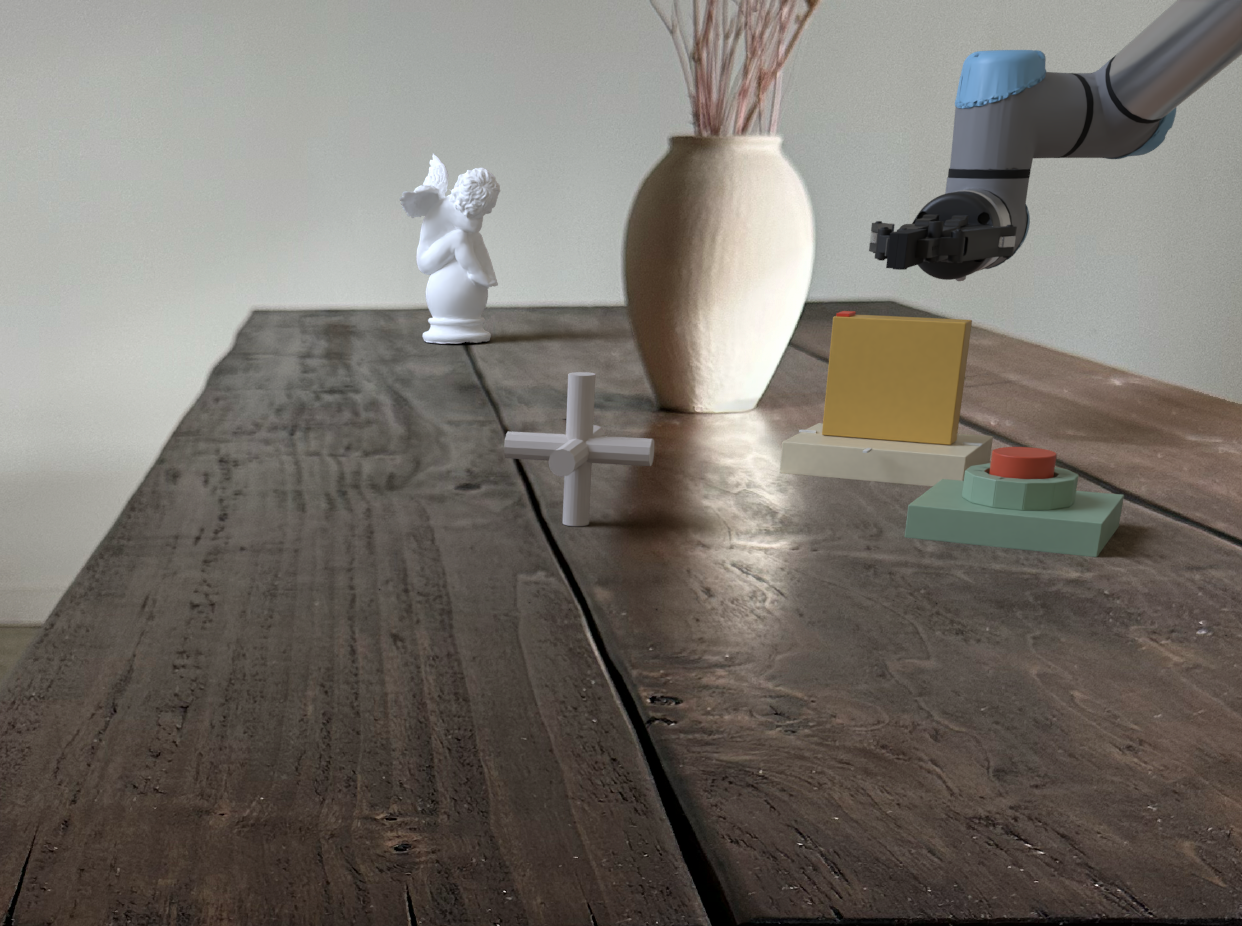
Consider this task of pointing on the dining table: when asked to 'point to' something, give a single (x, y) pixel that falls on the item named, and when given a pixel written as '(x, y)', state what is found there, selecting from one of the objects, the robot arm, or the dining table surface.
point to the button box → (1016, 513)
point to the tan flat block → (896, 377)
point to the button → (1023, 463)
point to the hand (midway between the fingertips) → (897, 250)
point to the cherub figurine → (454, 251)
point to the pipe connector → (578, 448)
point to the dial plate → (882, 458)
